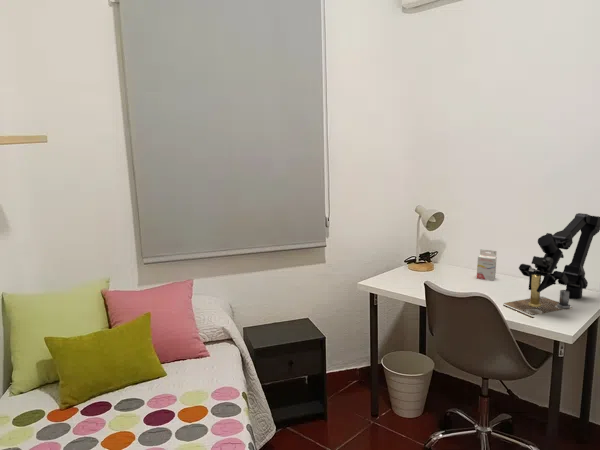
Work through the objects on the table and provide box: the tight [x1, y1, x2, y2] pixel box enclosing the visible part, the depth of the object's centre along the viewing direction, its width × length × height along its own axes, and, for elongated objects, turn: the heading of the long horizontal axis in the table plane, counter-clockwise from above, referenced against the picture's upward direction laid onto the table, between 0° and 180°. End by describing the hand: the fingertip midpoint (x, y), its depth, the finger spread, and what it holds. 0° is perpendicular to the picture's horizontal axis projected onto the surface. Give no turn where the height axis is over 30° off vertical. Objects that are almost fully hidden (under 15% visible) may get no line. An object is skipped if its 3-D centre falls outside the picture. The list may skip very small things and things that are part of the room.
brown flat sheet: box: [502, 296, 573, 319], centre depth 208 cm, size 22×17×1 cm
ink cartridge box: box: [476, 249, 497, 281], centre depth 251 cm, size 9×5×15 cm, turn 58°
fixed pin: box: [556, 289, 571, 310], centre depth 204 cm, size 5×5×7 cm
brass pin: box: [528, 274, 542, 308], centre depth 199 cm, size 5×5×13 cm
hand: (533, 290), depth 199 cm, fingers closed on brass pin, 3 cm apart
